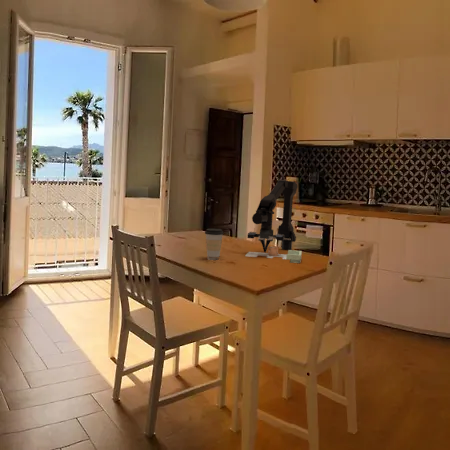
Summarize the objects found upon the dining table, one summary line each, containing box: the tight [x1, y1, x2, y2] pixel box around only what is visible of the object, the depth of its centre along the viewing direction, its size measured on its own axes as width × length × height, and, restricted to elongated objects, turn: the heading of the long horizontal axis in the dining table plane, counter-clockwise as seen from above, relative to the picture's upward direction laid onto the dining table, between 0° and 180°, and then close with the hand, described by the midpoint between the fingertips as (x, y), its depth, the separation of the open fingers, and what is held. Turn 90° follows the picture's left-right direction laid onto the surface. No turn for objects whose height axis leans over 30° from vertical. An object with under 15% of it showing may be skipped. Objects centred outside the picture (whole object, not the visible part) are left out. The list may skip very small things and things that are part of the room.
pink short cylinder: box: [267, 246, 279, 256], centre depth 242 cm, size 5×5×4 cm
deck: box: [245, 249, 303, 264], centre depth 240 cm, size 13×28×4 cm, turn 79°
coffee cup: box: [204, 228, 225, 261], centre depth 232 cm, size 9×9×15 cm
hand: (264, 252), depth 243 cm, fingers closed
